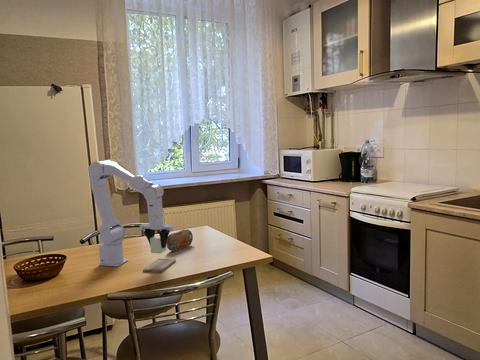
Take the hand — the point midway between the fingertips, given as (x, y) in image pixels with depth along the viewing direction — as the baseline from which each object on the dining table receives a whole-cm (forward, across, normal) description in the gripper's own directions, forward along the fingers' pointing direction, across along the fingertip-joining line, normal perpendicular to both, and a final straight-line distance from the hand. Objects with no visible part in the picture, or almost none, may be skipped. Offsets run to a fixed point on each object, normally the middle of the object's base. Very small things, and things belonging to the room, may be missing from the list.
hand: (158, 247), depth 157 cm
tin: (+8, +2, -23) cm, 25 cm away
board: (+9, 0, 0) cm, 9 cm away
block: (+2, 0, 0) cm, 2 cm away
